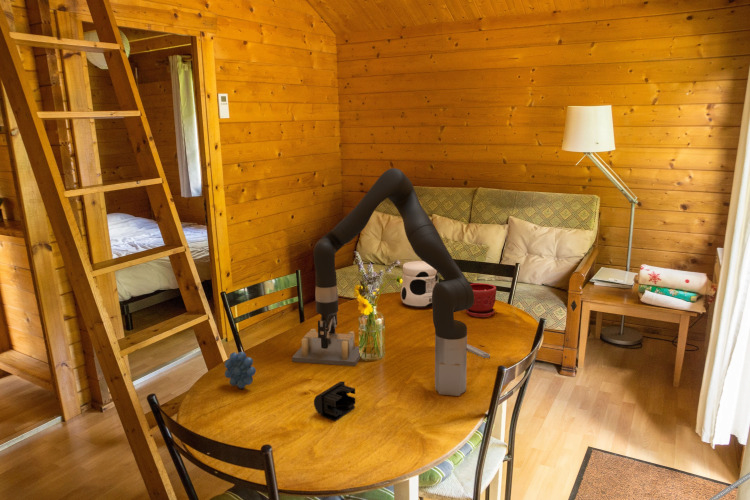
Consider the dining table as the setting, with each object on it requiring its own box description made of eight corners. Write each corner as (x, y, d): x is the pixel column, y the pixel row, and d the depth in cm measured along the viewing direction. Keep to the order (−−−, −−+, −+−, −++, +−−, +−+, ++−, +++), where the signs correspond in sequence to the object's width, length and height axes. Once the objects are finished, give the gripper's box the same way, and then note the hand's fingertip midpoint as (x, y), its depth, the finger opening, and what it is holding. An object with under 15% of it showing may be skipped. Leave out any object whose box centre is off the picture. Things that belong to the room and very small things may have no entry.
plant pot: (500, 312, 232) (500, 284, 229) (488, 321, 221) (489, 292, 218) (470, 307, 238) (471, 280, 236) (458, 316, 228) (458, 288, 225)
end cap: (336, 400, 159) (336, 378, 157) (356, 407, 155) (356, 384, 153) (313, 415, 151) (312, 392, 149) (334, 422, 147) (333, 399, 145)
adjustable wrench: (492, 359, 186) (492, 354, 185) (476, 363, 183) (476, 358, 182) (448, 335, 207) (448, 331, 207) (434, 339, 204) (434, 334, 204)
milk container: (406, 297, 255) (406, 259, 251) (443, 300, 249) (443, 261, 245) (396, 308, 239) (395, 268, 235) (435, 312, 233) (435, 270, 229)
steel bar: (349, 356, 185) (349, 339, 184) (304, 353, 189) (303, 336, 187) (353, 350, 190) (352, 334, 189) (309, 347, 193) (308, 331, 192)
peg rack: (355, 366, 181) (354, 344, 180) (292, 361, 186) (291, 340, 184) (364, 350, 194) (364, 330, 192) (305, 346, 198) (304, 327, 197)
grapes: (265, 386, 168) (263, 349, 166) (250, 395, 163) (248, 357, 160) (235, 378, 174) (233, 343, 171) (220, 387, 168) (217, 350, 165)
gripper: (331, 305, 178) (333, 352, 181) (343, 292, 191) (344, 336, 195) (309, 304, 179) (311, 350, 183) (322, 291, 193) (324, 335, 196)
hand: (328, 343), depth 189 cm, fingers open, 8 cm apart
